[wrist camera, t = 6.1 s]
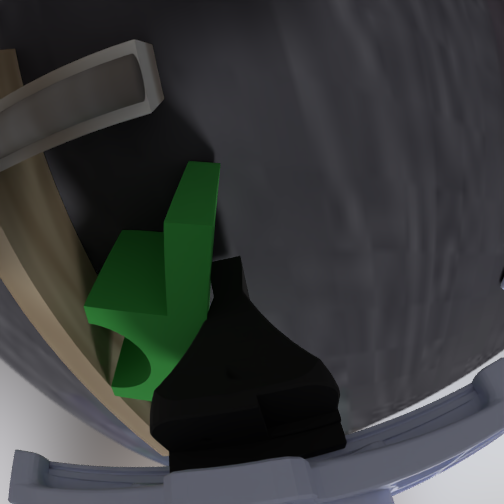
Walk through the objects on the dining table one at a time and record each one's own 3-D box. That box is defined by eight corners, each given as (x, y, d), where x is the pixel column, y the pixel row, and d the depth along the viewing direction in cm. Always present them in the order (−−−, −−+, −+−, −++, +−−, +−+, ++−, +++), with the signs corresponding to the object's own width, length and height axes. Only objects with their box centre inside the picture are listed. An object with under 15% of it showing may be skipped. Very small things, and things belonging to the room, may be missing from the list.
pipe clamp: (119, 156, 10) (62, 214, 7) (220, 162, 11) (213, 223, 7) (141, 356, 16) (127, 427, 13) (206, 363, 17) (203, 436, 13)
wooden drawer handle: (142, -7, 7) (109, -41, 4) (249, 391, 20) (259, 446, 16) (-8, 63, 7) (-81, 81, 3) (162, 405, 20) (162, 458, 16)
